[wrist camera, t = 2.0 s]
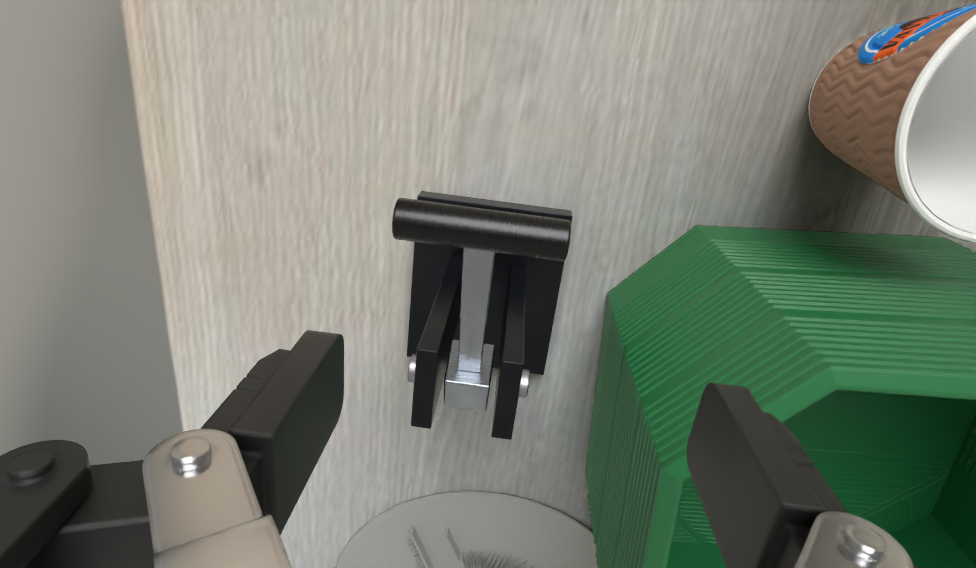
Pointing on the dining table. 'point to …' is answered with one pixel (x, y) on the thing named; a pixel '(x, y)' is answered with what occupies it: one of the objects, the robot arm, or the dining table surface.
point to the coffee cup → (908, 114)
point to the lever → (477, 276)
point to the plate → (471, 535)
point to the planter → (791, 384)
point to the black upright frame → (510, 321)
